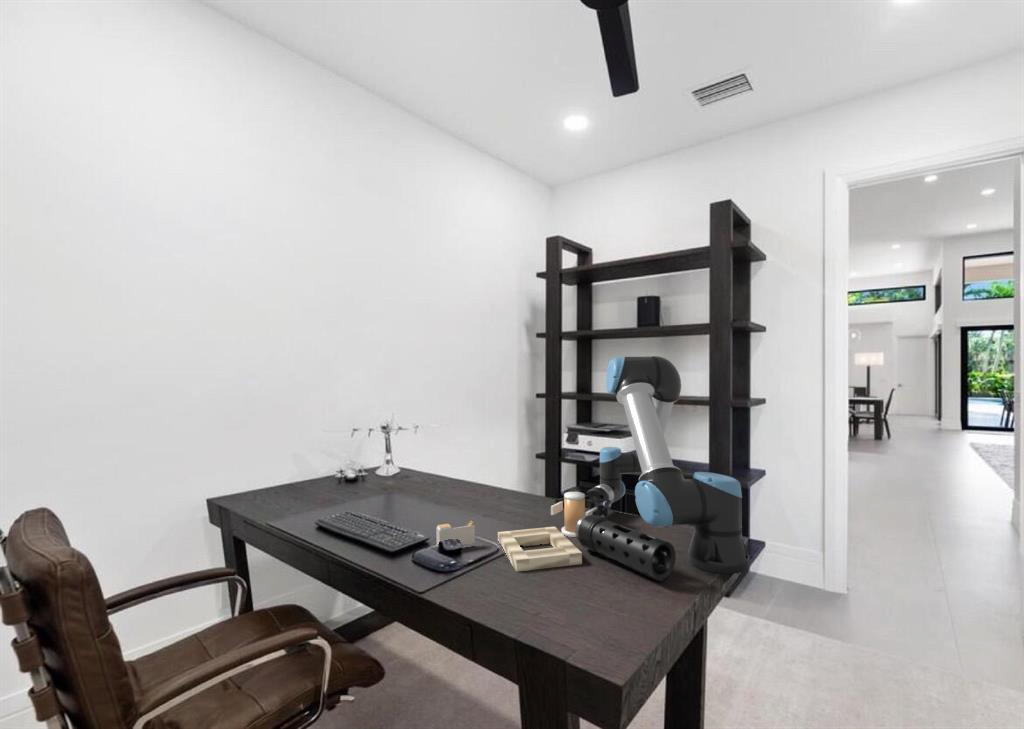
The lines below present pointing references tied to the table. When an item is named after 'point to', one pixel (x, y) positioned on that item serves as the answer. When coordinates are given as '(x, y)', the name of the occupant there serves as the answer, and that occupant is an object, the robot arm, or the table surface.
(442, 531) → the model
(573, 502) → the orange white flanged cylinder
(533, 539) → the square wooden frame
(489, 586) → the table surface
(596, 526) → the muzzle brake
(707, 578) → the table surface
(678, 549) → the table surface
